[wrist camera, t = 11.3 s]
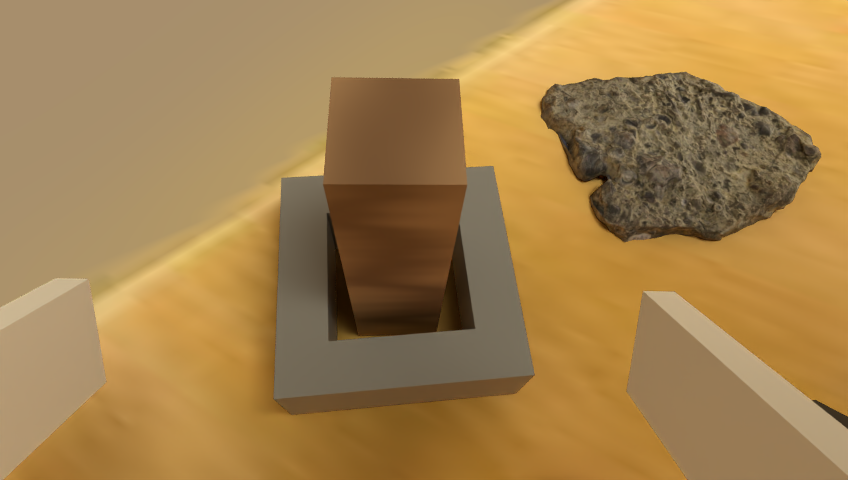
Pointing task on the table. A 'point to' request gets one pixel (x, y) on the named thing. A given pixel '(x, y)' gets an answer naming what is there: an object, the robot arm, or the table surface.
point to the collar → (402, 354)
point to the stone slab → (677, 154)
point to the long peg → (395, 196)
